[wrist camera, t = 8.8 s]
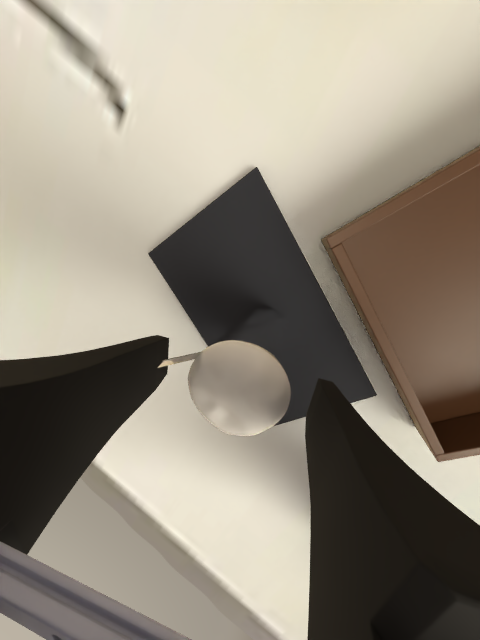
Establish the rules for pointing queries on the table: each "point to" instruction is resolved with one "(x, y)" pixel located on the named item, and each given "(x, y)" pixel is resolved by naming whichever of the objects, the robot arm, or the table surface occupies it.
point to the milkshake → (242, 375)
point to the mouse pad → (259, 288)
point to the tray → (424, 299)
